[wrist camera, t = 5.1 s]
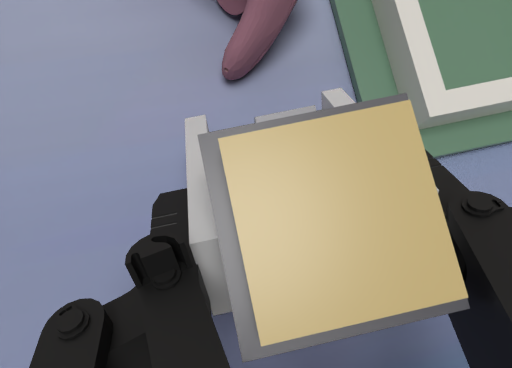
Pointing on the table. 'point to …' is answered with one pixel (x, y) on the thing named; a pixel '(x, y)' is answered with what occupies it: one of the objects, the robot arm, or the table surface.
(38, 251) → the table surface
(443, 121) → the green square tray
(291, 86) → the table surface
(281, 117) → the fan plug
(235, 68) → the video game controller
